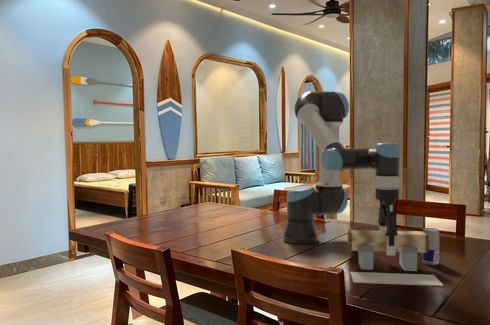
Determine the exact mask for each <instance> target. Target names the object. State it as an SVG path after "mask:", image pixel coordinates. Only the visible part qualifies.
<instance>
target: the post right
mask: <svg viewBox="0 0 490 325" xmlns="http://www.w3.org/2000/svg"><path fill="white" fill-rule="evenodd" d="M399 266H400V267H401V268H402V269H403V271H404V272H418V252H417V247H404V252H399Z"/></svg>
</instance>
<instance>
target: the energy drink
mask: <svg viewBox="0 0 490 325" xmlns="http://www.w3.org/2000/svg"><path fill="white" fill-rule="evenodd" d="M422 232H425V233H427V234H428V235H429V237H428V253H422V254H421V256H422V257H421V258H422V259H421V261H422V264H424V265H428V266H437V265H439V263H440V230H439V229H437V228H434V227H425V228H423V230H422Z"/></svg>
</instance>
